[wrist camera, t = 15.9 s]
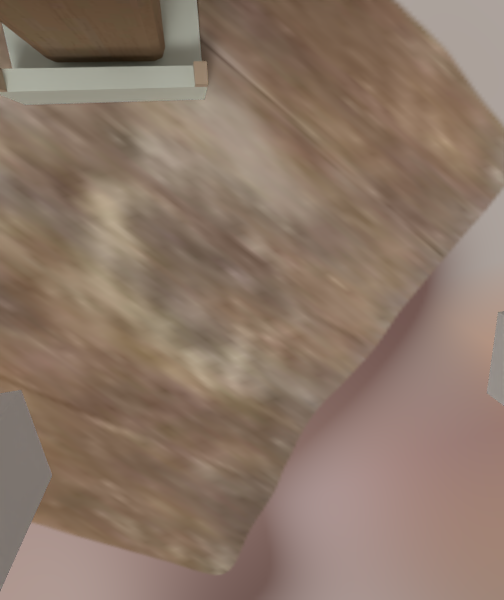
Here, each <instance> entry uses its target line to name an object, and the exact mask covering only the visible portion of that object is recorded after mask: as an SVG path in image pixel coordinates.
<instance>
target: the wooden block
mask: <svg viewBox="0 0 504 600" xmlns="http://www.w3.org/2000/svg"><path fill="white" fill-rule="evenodd" d="M0 22H1V23H3V24H4V25H5V26H6V27H8V28H9V29H10V30H12V31H13V32H14V33H15V34H17V35H18V36H19V37H20V38H22V39H23V40H24V41H25V42H27V43H28V44H29V45H31V46H32V47H33V48H34V49H36V50H37V51H38V52H39V53H41V54H42V55H43V56H45V57H46V58H47V59H50V60H52V61H55V62H128V61H156V60H158V59H160V58H162V57H163V54H164V50H165V42H164V33H163V24H162V15H161V6H160V0H0Z"/></svg>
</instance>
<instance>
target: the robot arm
mask: <svg viewBox="0 0 504 600" xmlns="http://www.w3.org/2000/svg"><path fill="white" fill-rule="evenodd" d="M487 393H488V394H489V395H490V396H492V397H493V398H494V399H495V400H497V401H498V402H500V403H501V404H502V405H503V406H504V311H503V312H498V317H497V324H496V332H495V339H494V346H493V353H492V360H491V367H490V374H489V382H488V389H487ZM51 477H52V474H51V471H50V468H49V465H48V463H47V460H46V457H45V454H44V452H43V449H42V446H41V443H40V441H39V438H38V435H37V432H36V430H35V427H34V424H33V421H32V419H31V416H30V413H29V410H28V408H27V405H26V402H25V399H24V396H23V394H22V391H21V390H18V391H12V392H6V393H0V591H1V588H2V586H3V584H4V582H5V579H6V577H7V575H8V573H9V570H10V568H11V566H12V564H13V562H14V559H15V557H16V555H17V552H18V550H19V548H20V546H21V544H22V541H23V539H24V537H25V535H26V533H27V530H28V528H29V526H30V524H31V521H32V519H33V517H34V515H35V512H36V510H37V508H38V506H39V504H40V501H41V499H42V497H43V495H44V492H45V490H46V488H47V486H48V483H49V481H50V479H51Z"/></svg>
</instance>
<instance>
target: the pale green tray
mask: <svg viewBox="0 0 504 600" xmlns="http://www.w3.org/2000/svg"><path fill="white" fill-rule="evenodd" d="M160 6H161V15H162V24H163V33H164V42H165V50H164V54H163V57H162V58H160V59H158V60H156V61H128V62H55V61H52V60H50V59H47V58H46V57H45V56H43V55H42V54H41V53H39V52H38V51H37V50H36V49H34V48H33V47H32V46H31V45H29V44H28V43H27V42H25V41H24V40H23V39H22V38H20V37H19V36H18V35H17V34H15V33H14V32H13V31H12V30H10V29H9V28H8V27H6V26H5V25H4V24H3V23H2V26H3V30H4V35H5V39H6V43H7V47H8V52H9V56H10V60H11V64H12V69H1V68H0V95H1V96H4V97H6V98H9V99H11V100H14V101H17V102H19V103H22V104H24V105H37V104H71V103H104V102H137V101H171V100H204V99H205V95H206V91H207V87H208V72H207V61H202V58H201V46H200V34H199V22H198V10H197V0H160Z"/></svg>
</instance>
